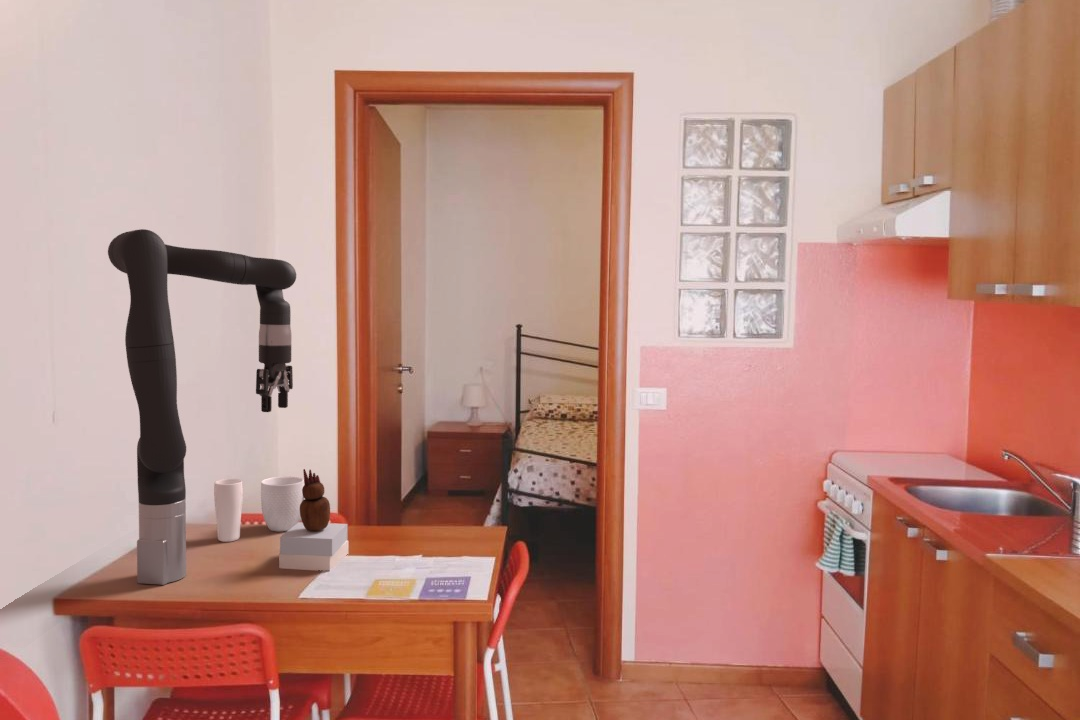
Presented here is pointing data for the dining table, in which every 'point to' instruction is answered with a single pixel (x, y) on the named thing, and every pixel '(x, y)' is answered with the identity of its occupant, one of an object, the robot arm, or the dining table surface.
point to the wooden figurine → (314, 504)
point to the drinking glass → (228, 508)
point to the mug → (281, 502)
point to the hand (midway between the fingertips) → (274, 409)
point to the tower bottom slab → (312, 560)
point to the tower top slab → (313, 540)
